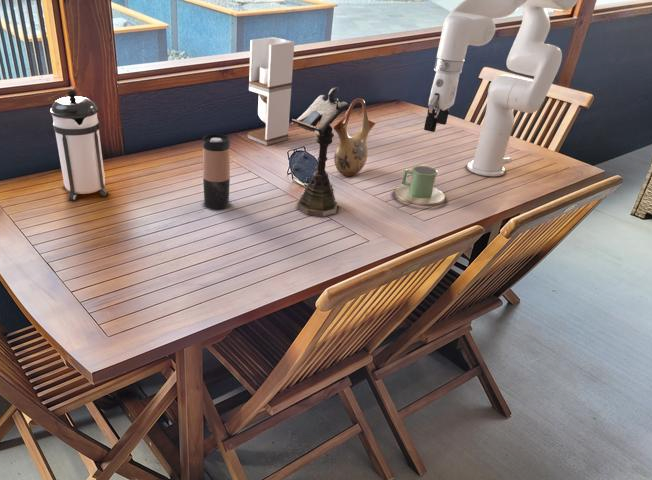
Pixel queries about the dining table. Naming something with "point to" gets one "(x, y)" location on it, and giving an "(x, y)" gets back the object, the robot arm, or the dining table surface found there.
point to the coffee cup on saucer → (420, 187)
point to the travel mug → (216, 170)
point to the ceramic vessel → (352, 143)
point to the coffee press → (79, 145)
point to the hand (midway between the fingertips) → (435, 127)
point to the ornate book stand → (320, 154)
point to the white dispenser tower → (271, 86)
